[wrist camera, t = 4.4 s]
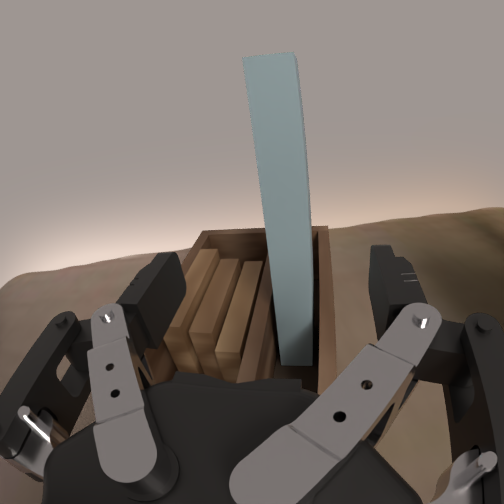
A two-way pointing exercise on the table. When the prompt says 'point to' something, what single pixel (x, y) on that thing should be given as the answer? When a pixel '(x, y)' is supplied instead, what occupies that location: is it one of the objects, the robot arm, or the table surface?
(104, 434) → the robot arm
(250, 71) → the panel
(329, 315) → the rack
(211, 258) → the offcuts
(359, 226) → the table surface
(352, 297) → the table surface
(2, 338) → the table surface
